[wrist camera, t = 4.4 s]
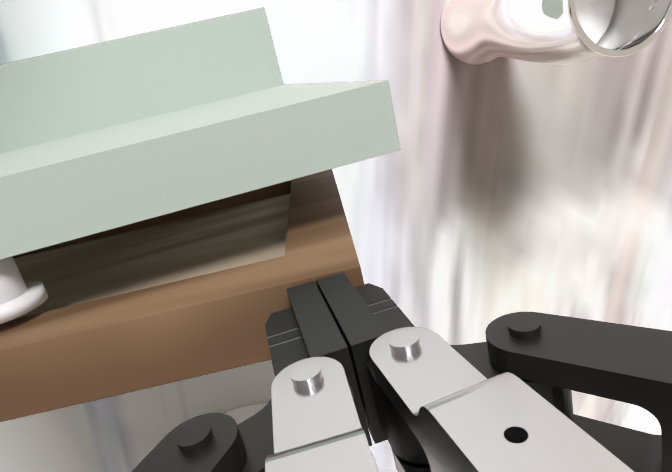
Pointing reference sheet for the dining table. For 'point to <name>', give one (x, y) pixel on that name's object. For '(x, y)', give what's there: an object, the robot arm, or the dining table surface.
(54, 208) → the board
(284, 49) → the dining table surface
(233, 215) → the frame
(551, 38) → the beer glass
